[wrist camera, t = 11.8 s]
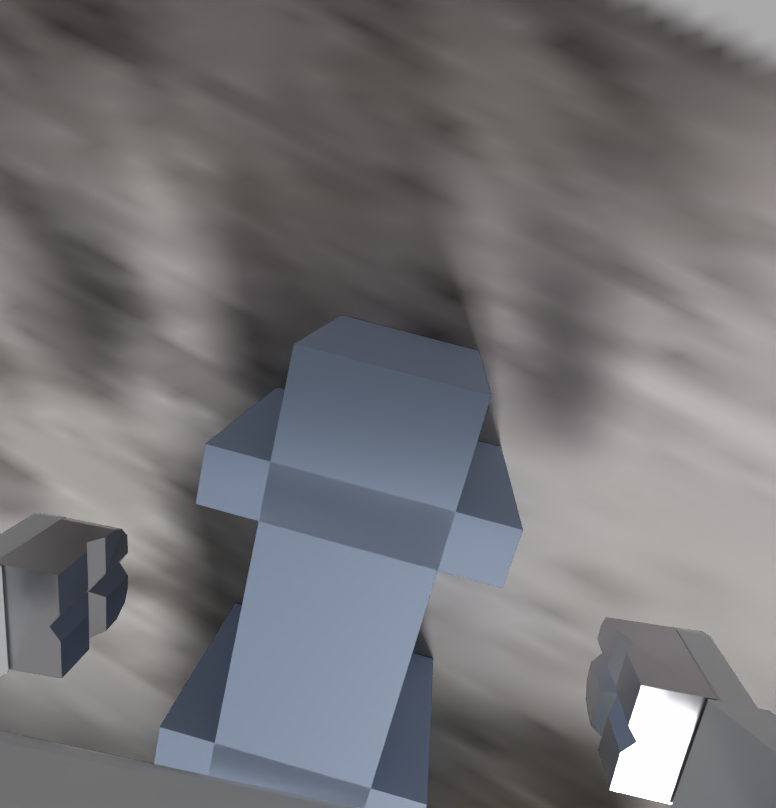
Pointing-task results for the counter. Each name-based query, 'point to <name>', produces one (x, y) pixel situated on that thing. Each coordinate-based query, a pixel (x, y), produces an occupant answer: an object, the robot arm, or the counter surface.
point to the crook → (344, 566)
